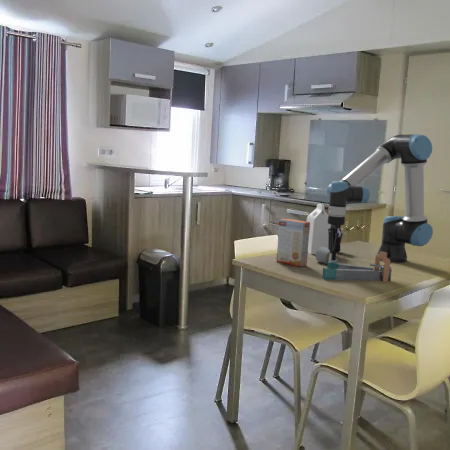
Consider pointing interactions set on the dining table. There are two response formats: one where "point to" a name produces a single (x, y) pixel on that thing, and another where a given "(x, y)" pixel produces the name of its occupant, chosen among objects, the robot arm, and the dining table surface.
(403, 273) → the dining table surface
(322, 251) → the ceramic mug
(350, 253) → the dining table surface
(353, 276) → the ball-hinged grey bar
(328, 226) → the milk
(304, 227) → the cracker box
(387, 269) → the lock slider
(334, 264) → the block
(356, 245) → the dining table surface
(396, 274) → the dining table surface
